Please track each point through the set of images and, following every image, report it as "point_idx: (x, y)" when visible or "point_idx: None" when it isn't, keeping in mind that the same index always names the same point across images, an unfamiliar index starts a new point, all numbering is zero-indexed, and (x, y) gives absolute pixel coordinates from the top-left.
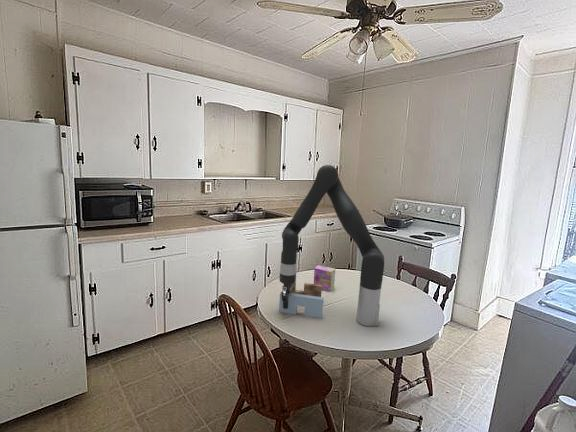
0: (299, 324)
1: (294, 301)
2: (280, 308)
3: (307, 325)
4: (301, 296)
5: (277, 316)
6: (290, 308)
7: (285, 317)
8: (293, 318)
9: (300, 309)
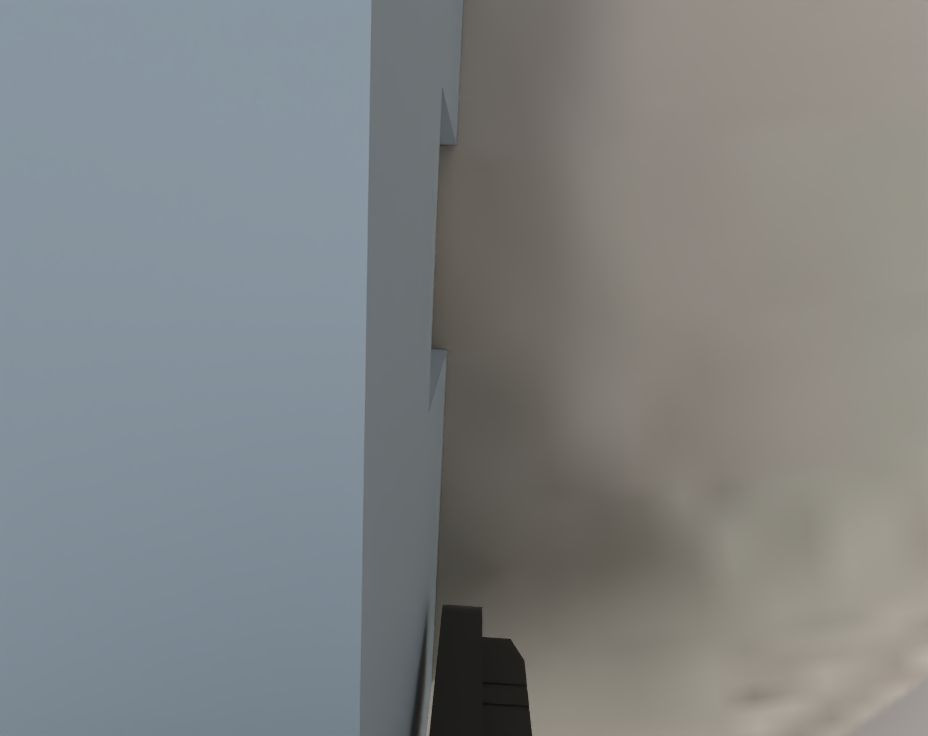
0: (867, 222)
1: (406, 556)
2: (424, 723)
3: (895, 23)
4: (263, 289)
5: (609, 684)
6: (431, 529)
7: (618, 541)
8: (629, 380)
9: None
